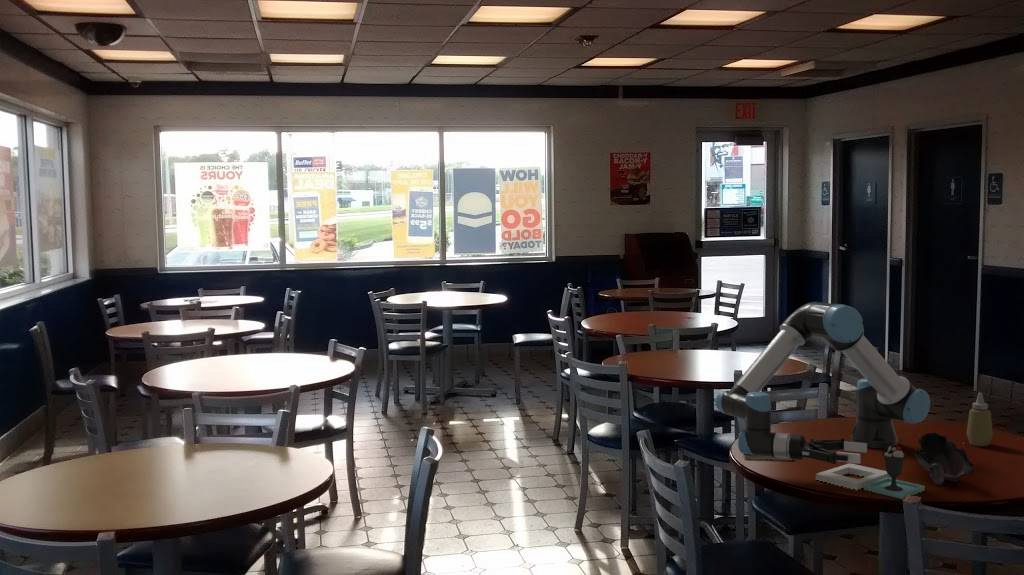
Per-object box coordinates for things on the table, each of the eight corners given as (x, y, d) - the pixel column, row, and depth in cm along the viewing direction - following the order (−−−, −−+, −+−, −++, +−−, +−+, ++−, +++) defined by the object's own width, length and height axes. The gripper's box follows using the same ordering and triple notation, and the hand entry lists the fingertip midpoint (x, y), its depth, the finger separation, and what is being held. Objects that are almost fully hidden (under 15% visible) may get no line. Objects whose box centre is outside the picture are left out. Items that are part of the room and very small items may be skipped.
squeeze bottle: (967, 446, 322) (968, 394, 321) (965, 441, 330) (966, 390, 328) (993, 448, 319) (994, 396, 318) (991, 442, 327) (992, 391, 325)
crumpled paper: (981, 485, 276) (946, 470, 296) (976, 436, 275) (941, 424, 295) (935, 491, 275) (903, 476, 295) (930, 442, 275) (898, 430, 295)
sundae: (908, 492, 271) (908, 441, 270) (883, 491, 272) (884, 440, 271) (904, 485, 277) (904, 435, 276) (879, 485, 279) (880, 435, 278)
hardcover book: (743, 461, 313) (743, 454, 313) (740, 443, 336) (740, 437, 335) (793, 462, 310) (793, 455, 310) (787, 444, 333) (787, 438, 332)
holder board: (849, 469, 298) (849, 463, 298) (890, 478, 287) (890, 472, 287) (815, 480, 287) (815, 473, 287) (857, 490, 276) (857, 483, 276)
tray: (886, 481, 284) (886, 477, 284) (924, 490, 274) (924, 486, 274) (863, 489, 277) (863, 485, 277) (902, 499, 267) (902, 494, 267)
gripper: (798, 448, 300) (869, 455, 290) (781, 468, 278) (857, 476, 268) (798, 425, 299) (869, 431, 290) (781, 443, 277) (857, 450, 268)
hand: (863, 453), depth 279 cm, fingers open, 13 cm apart
